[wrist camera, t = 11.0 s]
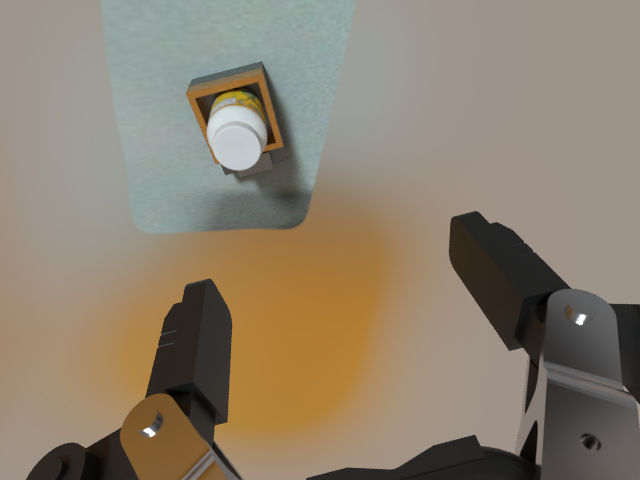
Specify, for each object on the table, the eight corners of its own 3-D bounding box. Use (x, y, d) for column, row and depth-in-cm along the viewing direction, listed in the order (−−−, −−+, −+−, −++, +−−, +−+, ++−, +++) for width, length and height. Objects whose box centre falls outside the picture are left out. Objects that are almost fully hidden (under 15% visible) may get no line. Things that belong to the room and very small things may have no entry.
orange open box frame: (192, 79, 37) (184, 93, 32) (261, 61, 37) (263, 73, 32) (226, 164, 43) (224, 185, 39) (285, 148, 43) (290, 168, 39)
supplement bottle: (202, 98, 35) (189, 132, 28) (249, 76, 35) (250, 105, 27) (229, 145, 39) (224, 186, 31) (273, 125, 38) (279, 163, 31)
